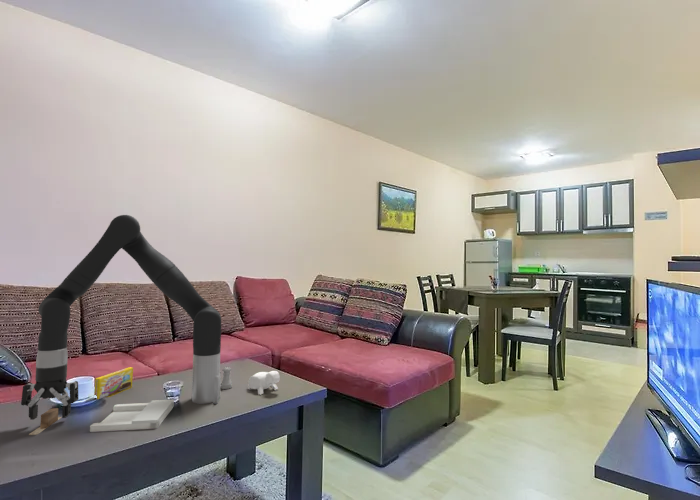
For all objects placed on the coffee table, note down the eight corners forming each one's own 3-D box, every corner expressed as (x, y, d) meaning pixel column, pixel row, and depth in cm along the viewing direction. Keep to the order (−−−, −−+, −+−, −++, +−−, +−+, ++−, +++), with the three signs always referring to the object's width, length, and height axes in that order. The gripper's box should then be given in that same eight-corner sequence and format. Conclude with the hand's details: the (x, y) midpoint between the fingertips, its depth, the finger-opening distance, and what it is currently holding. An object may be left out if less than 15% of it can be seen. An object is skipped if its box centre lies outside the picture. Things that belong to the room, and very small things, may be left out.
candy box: (98, 402, 135) (99, 378, 135) (93, 402, 135) (93, 378, 135) (132, 388, 151) (133, 366, 151) (128, 387, 151) (129, 366, 151)
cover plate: (102, 417, 123) (102, 402, 123) (82, 434, 111) (83, 417, 111) (53, 419, 121) (54, 404, 121) (28, 437, 109) (29, 419, 109)
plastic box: (173, 409, 129) (173, 399, 129) (157, 431, 112) (157, 419, 112) (115, 412, 126) (116, 401, 126) (89, 435, 109) (90, 423, 109)
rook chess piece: (225, 390, 149) (226, 369, 150) (217, 388, 152) (218, 367, 152) (234, 387, 153) (235, 367, 154) (227, 385, 156) (227, 365, 156)
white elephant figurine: (247, 398, 149) (270, 392, 140) (243, 376, 152) (265, 369, 143) (265, 393, 156) (288, 387, 147) (261, 372, 158) (283, 364, 149)
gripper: (84, 359, 121) (82, 412, 120) (33, 361, 118) (31, 414, 118) (71, 366, 113) (68, 421, 113) (16, 367, 111) (14, 424, 110)
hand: (49, 417), depth 115 cm, fingers open, 8 cm apart
